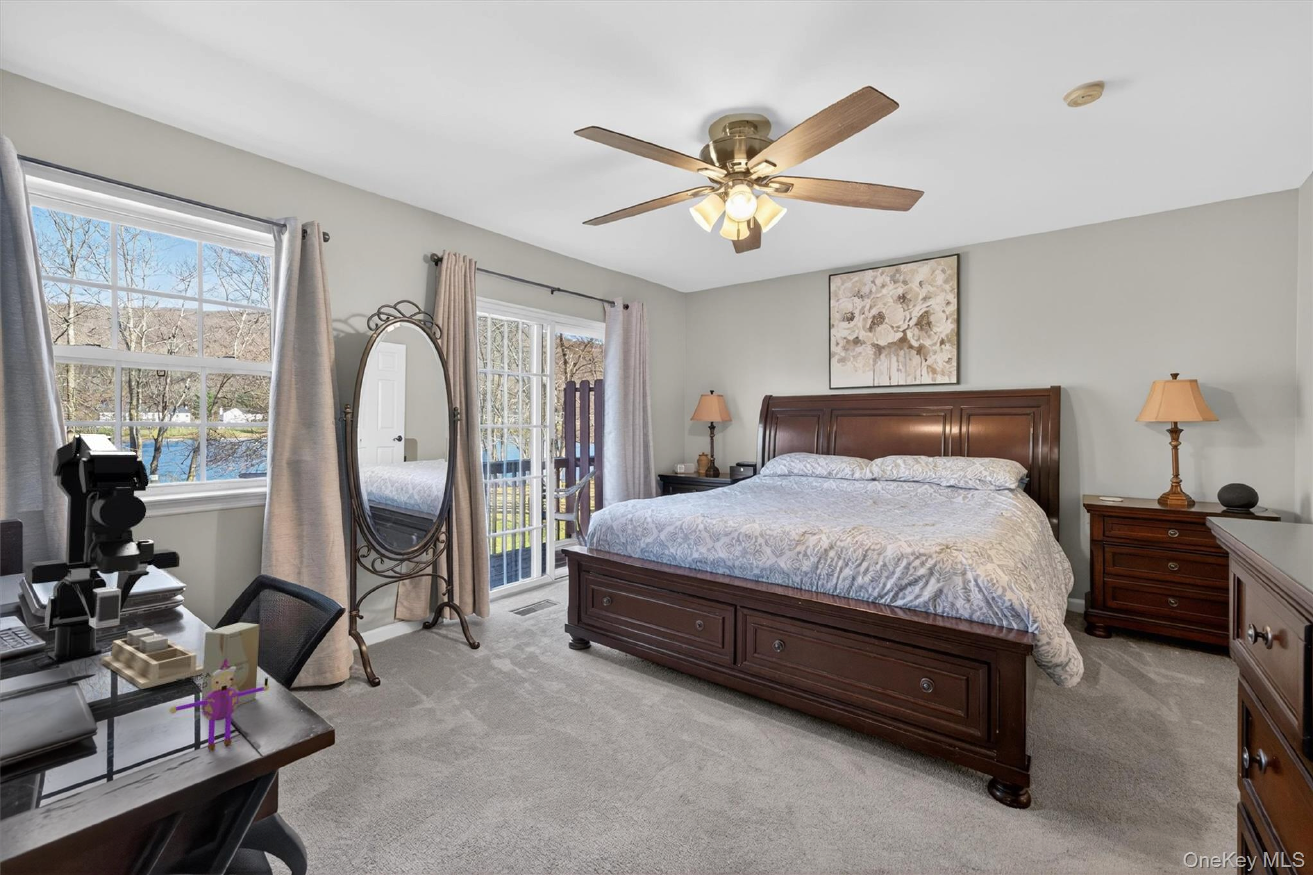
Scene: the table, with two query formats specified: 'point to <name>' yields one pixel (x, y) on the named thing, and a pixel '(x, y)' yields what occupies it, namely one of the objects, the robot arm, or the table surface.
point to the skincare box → (232, 657)
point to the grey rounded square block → (106, 607)
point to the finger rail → (151, 659)
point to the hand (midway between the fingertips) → (104, 615)
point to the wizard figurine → (219, 700)
